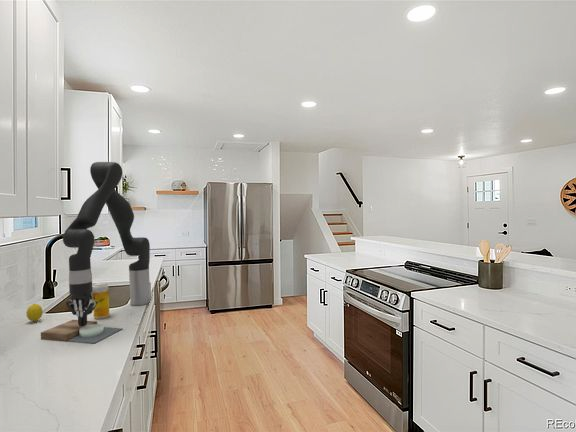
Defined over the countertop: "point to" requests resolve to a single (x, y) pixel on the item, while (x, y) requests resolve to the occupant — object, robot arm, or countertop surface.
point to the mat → (107, 332)
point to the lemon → (34, 312)
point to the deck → (64, 331)
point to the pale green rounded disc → (91, 330)
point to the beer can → (101, 300)
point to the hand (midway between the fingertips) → (82, 325)
